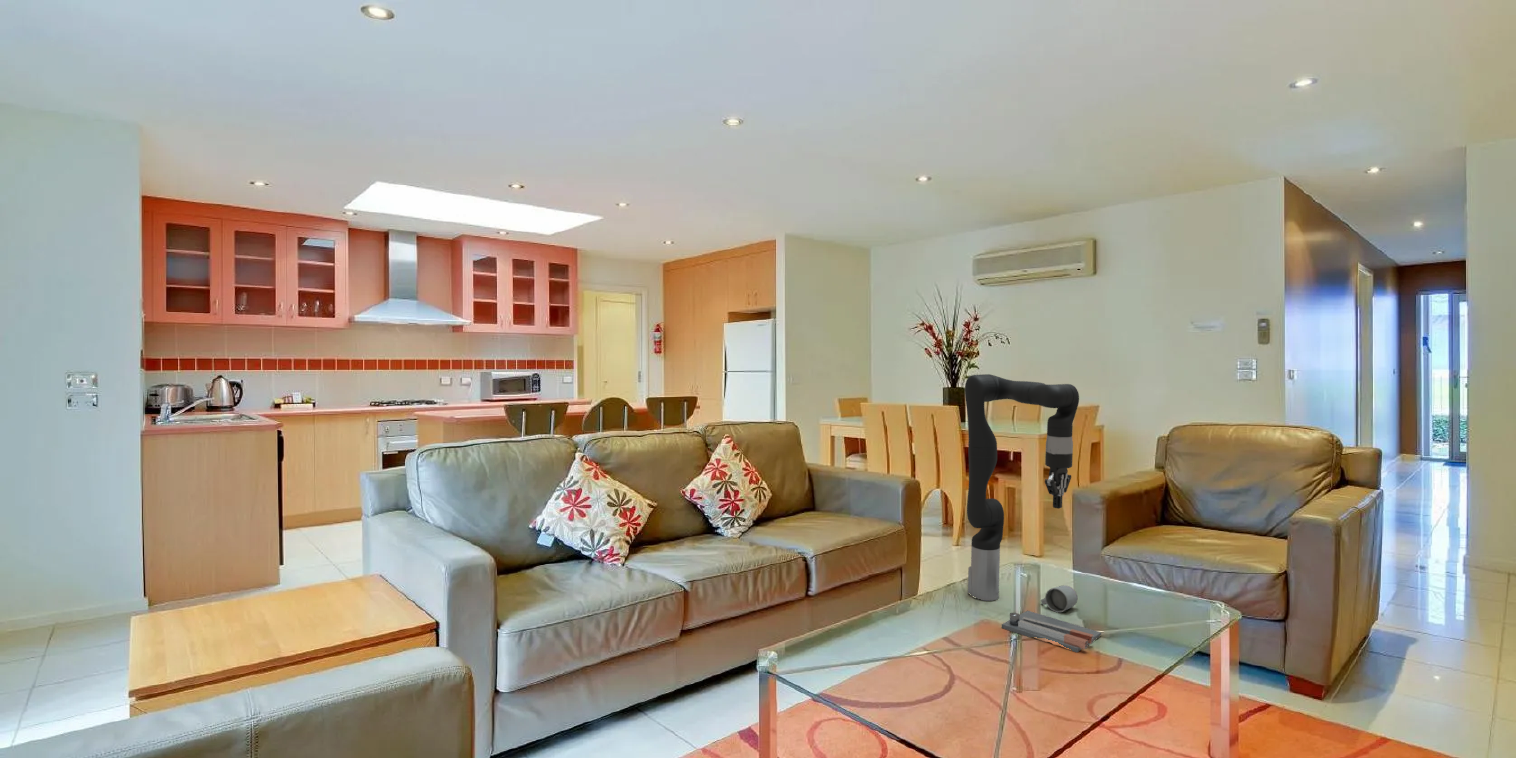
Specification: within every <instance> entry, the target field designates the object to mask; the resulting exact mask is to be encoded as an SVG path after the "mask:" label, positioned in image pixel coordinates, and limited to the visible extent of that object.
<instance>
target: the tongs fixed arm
mask: <svg viewBox="0 0 1516 758" xmlns="http://www.w3.org/2000/svg"><path fill="white" fill-rule="evenodd" d="M1019 618H1020V613H1017V612H1010V613H1009V620H1010V624H1011V625H1013V626H1018V628H1020V629H1023V630H1026V631H1030V632H1033V633H1036V634H1039V635H1042V636H1045V637H1048V638H1051V639H1055V640H1058V641H1061V642H1064V643H1067V644H1070V645H1073V646H1076V647H1079V648H1082V650H1086V649H1087V648H1088V646H1089V645H1088V640H1085V639H1082V638H1079V637H1076V636H1073V635H1069V634H1065V633H1061V632H1058V631H1055V630H1052V629H1049V628H1045V627H1042V626H1039V625H1036V624H1032V623H1029V622H1026V621H1023V620H1020V621H1019Z"/></svg>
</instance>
